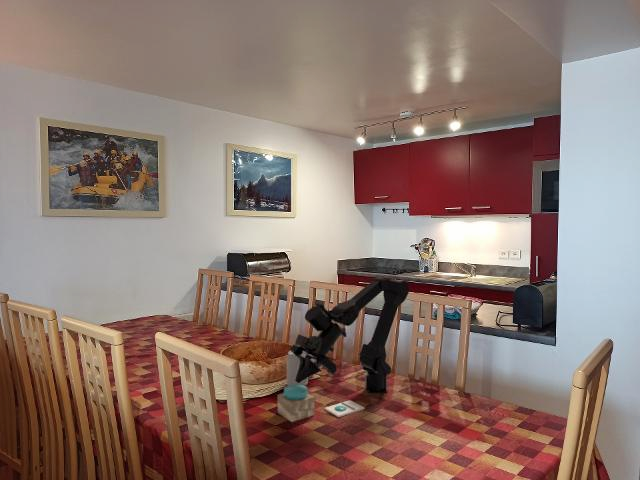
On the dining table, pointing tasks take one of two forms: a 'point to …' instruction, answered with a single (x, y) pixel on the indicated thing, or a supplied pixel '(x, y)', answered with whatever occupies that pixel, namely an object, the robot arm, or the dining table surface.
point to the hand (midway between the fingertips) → (296, 381)
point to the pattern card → (344, 408)
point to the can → (293, 370)
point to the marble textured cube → (295, 407)
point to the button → (295, 392)
